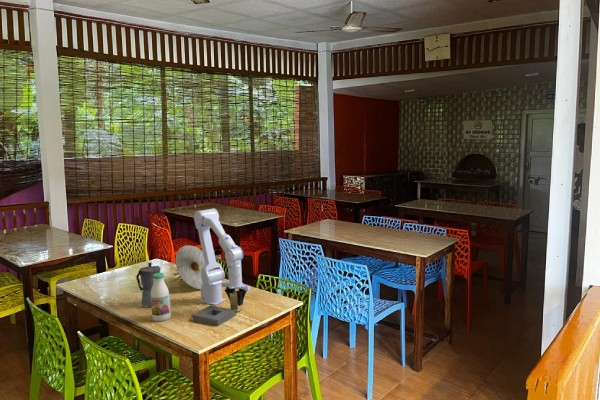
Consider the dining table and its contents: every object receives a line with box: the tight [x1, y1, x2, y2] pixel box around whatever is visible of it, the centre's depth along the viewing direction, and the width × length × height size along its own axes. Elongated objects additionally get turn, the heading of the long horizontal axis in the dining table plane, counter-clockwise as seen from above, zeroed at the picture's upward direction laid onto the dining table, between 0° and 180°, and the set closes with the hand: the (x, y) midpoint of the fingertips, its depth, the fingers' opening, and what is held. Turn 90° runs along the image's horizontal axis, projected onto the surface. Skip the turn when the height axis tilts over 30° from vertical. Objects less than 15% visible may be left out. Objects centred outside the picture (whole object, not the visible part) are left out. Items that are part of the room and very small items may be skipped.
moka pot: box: [135, 262, 161, 308], centre depth 219 cm, size 10×15×20 cm, turn 161°
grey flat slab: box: [191, 304, 237, 327], centre depth 202 cm, size 14×12×2 cm
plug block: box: [229, 289, 244, 313], centre depth 209 cm, size 4×4×8 cm
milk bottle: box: [150, 272, 172, 322], centre depth 202 cm, size 8×8×20 cm
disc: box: [170, 245, 215, 290], centre depth 247 cm, size 25×18×25 cm
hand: (236, 304), depth 209 cm, fingers closed on plug block, 4 cm apart
